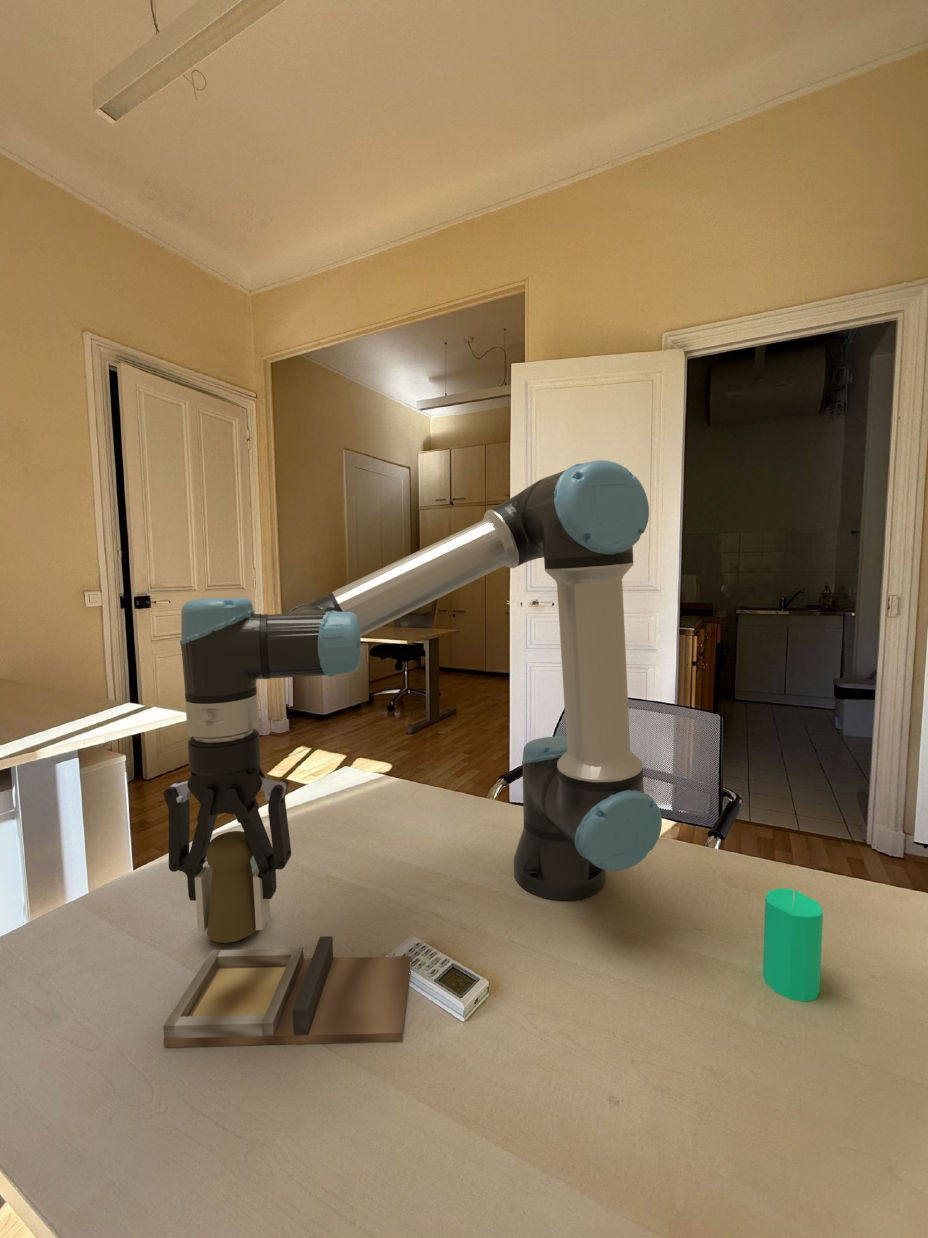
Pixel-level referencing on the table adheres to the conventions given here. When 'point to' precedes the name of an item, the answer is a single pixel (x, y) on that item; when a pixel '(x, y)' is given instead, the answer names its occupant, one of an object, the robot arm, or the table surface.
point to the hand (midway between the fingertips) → (234, 923)
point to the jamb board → (291, 999)
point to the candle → (792, 944)
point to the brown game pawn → (230, 888)
